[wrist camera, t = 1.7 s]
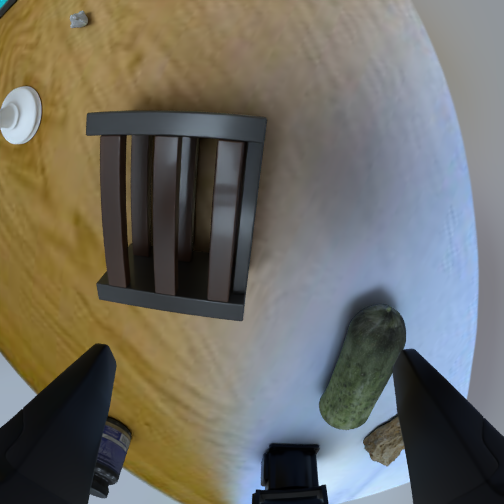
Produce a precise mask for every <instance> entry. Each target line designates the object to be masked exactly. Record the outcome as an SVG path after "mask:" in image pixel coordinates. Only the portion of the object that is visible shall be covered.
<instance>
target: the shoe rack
mask: <svg viewBox="0 0 504 504" xmlns="http://www.w3.org/2000/svg"><path fill="white" fill-rule="evenodd" d="M266 124H267V118H266V117H261V116H251V115H241V114H230V113H217V112H200V111H174V110H129V111H108V112H94V113H88V114H87V122H86V135H87V136H95V135H102V136H101V137H100V184H101V208H102V224H103V237H104V247H105V257H106V266H107V271H106V273H105V274H104V275H103V276H102V277H101V279H100V280H99V281H98V282H97V290H98V296H99V299H101V300H106V301H111V302H116V303H122V304H127V305H133V306H139V307H144V308H150V309H156V310H163V311H169V312H176V313H182V314H189V315H196V316H203V317H211V318H219V319H226V320H235V321H243V314H244V306H245V297H246V288H247V280H248V271H249V263H250V255H251V246H252V238H253V230H254V222H255V213H256V205H257V197H258V188H259V180H260V172H261V164H262V155H263V147H264V141H265V132H266ZM127 135H132V145H131V221H132V244H130V246H129V247H128V239H127V218H126V138H127ZM153 135H154V136H155V143H154V166H153V246H152V238H151V177H152V148H153ZM199 138H212V139H218V142H217V153H216V164H215V176H214V189H213V202H212V217H211V232H210V249H209V253H208V252H200V251H193V234H194V211H195V192H196V176H197V161H198V148H199Z"/></svg>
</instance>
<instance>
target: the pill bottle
mask: <svg viewBox="0 0 504 504" xmlns="http://www.w3.org/2000/svg"><path fill="white" fill-rule="evenodd" d="M130 441H131V433H130V431H129V430H128V429H127V428H126V427H125V426H124V425H122V424H121V423H119V422H118V421H116V420H113V419H111V418H108V417H107V420H106V423H105V427H104V431H103V435H102V439H101V443H100V448H99V452H98V456H97V461H96V465H95V470H94V475H93V480H92V485H91V490H90V494H91V495H94V496H96V497H100V498H107V495H108V493H109V489H108V486H109V485H113V484H115V483H116V482H117V481H118V479H119V475H120V472H121V469H122V466H123V463H124V460H125V457H126V454H127V450H128V447H129V444H130Z"/></svg>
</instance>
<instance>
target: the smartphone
mask: <svg viewBox="0 0 504 504" xmlns="http://www.w3.org/2000/svg"><path fill="white" fill-rule="evenodd" d="M15 1H16V0H0V17H1V16H2V15H3V14H4V13H5V12H6V10H7V9H8V8H9V7H10V6H11V5H12V4H13V3H14V2H15Z"/></svg>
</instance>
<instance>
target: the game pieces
mask: <svg viewBox="0 0 504 504" xmlns="http://www.w3.org/2000/svg"><path fill="white" fill-rule="evenodd" d="M70 21H71V28H75V27H83V26H85V25H86V24H87V23H88V18H87V16H86V15H85V13H84V11H80V12H79V13H77V14H73V15H71V16H70Z"/></svg>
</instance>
